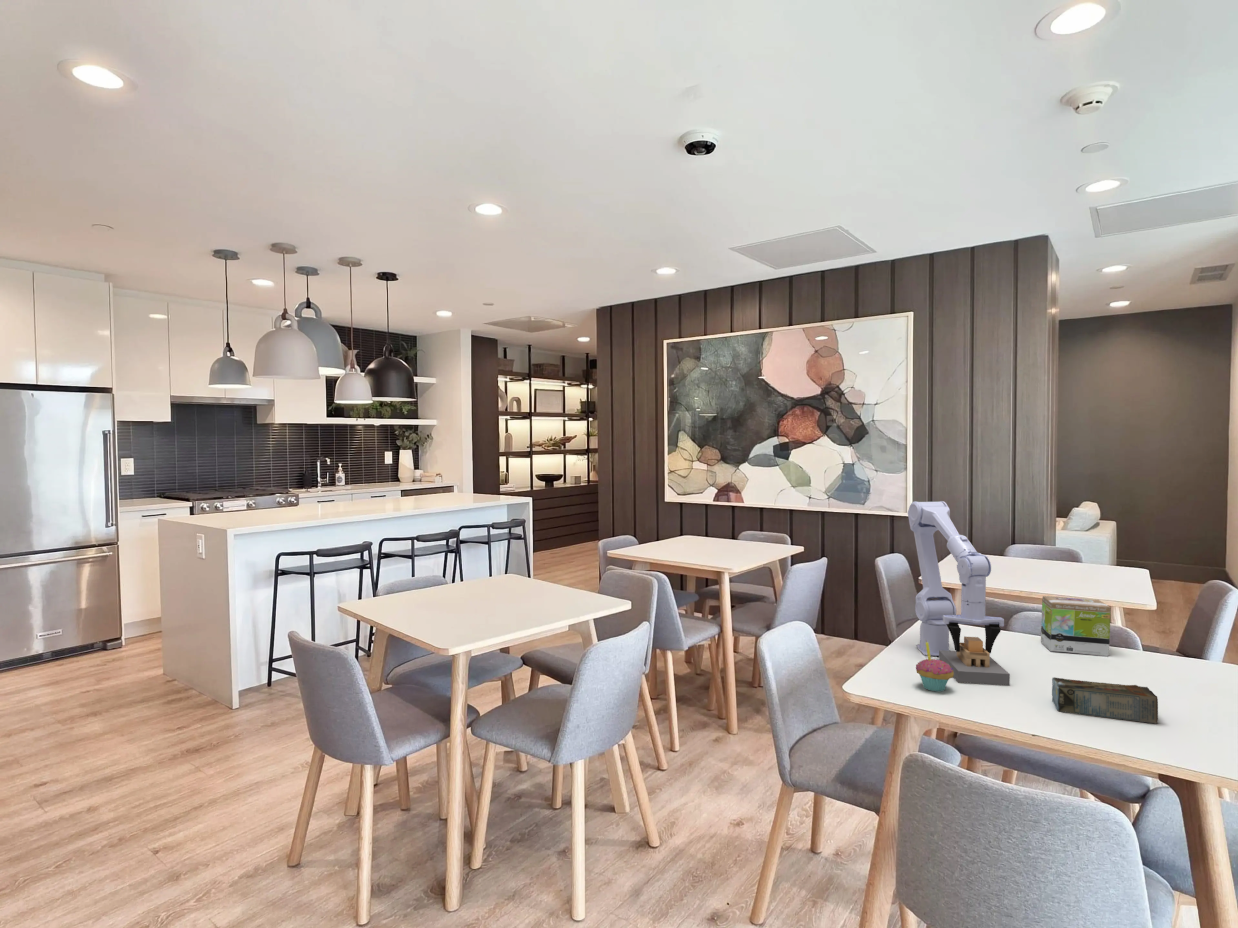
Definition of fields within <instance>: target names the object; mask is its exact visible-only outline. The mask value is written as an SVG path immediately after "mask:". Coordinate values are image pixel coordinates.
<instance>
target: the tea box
mask: <svg viewBox="0 0 1238 928" xmlns="http://www.w3.org/2000/svg"><path fill="white" fill-rule="evenodd" d="M1111 612H1112V607H1111V606H1109V604H1106V603H1104V602H1103V601H1101V600H1100V599H1093V598H1082V597H1081V598H1079V597H1068V596H1067V597H1064V596H1049V595H1042V601H1041V619H1040V620H1041V621H1040V622H1041V623H1040V625H1041V626H1040V643H1041V644H1042V645H1043V646H1044V647H1045V648H1046V649H1047V650H1048V651H1049V652H1058V653H1073V654H1081V655H1083V654H1084V655H1092V656H1100V657H1101V656H1102V657H1109V655H1110V641H1111V640H1110V639H1111V618H1112V617H1111V616H1112V615H1111V614H1112V613H1111Z"/></svg>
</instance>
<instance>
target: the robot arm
mask: <svg viewBox="0 0 1238 928" xmlns="http://www.w3.org/2000/svg"><path fill="white" fill-rule="evenodd" d="M907 517H908V523H909V528H910V531H912V532H913V536H914V540H915V547H916V555H917V560H918V565H919V571H920V576H921V583H922V589H921V590H920V591H919V592H918V593H917V594H916V595H915V607H914V610H915V615H916V617H917V618H918V619H919V621H920V627H919V644H918V643H917V644H916V645H915V646H916V648H918V649H919V651H920V652H921V653H922V654H923V656H928V655H927V649H926V640H927V642H928V644H929V650H930V656H934V657H939V650H944V651H950V637H951V638H952V639H951V640H952V642H953V646H954V651H957V652H960V643H961V632H962V628H961V627H960V625H973V626H974V625H975V626H977V625H978V626H980V625H981V626H984V633H985V641H984V643H985V645H984V646H985V647H984V649H985V650H986V651H988V652H989V653H990V654H992V649H993V646H994V643H995V642H996V640H997V637H998V636H999V635H1000V633H1001V630H1002V629H1001V627H1004V626H1005V619H1004V618H1003V617H998V616H988V615H986V603H987V602H986V597H987V594H986V593H987V589H986V588H987V586H986V585H987V582H986V581H987V578H988V577H989V576H990V575H991V573H992V572H991V571H992V564H991V561H990V558H989V557H988V556H987V555H985V554H982V553H980V552H978V551H977V550H976V548H975V547H974V545H972V542H970V540H969V539H968V537H967V536H965V535H964V534H960V533H959V532H958V530H957V528H956V526H955V524H954V523H953V521H952V520H951V510H950V507H949V505H948V504H947V502H945V501H943V500H940V501H916V500H915V501H912V502H911V503H910V505H909V507H908V510H907ZM937 531H939V532H940V533H941V534H942V536H943V537H944V538H945V539H946V541H947V543H946V549H948V550H949V553H950V554H951V556H952V558H954V560H955V562H956V563H957V564H956V570H957V573H958V577H959V578H958V580H959V583H961V595H960V596H961V599H960V600H961V606H960V614H957V612H958V611H957V607H956V606H957V605H956V603H955V602H954V599H953V596H952V593H951V592H949V591H948V590H947V589H945V588H944V587H943V583H942V578H941V577H942V576H941V573H940V572H941V571H940V566H939V560H938V555H937V551H936V543H935V537H934V534H935V532H937ZM925 639H926V640H925Z"/></svg>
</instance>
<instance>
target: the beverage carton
mask: <svg viewBox="0 0 1238 928" xmlns="http://www.w3.org/2000/svg"><path fill="white" fill-rule="evenodd" d="M1051 680H1052V682H1051V685H1052V686H1051V697H1052V701H1051V702H1052V703H1053V705H1054V707H1055V708H1056V710H1057V711H1058V712H1059V713H1065V714H1074V715H1082V716H1088V717H1097V718H1107V719H1116V720H1122V719H1123V720H1124V721H1134V722H1140V723H1147V724H1155V725H1157V724H1158V723H1159V722H1158V721H1159V701H1158V700H1159V699H1158V696H1157V695H1156V694H1155V693H1154V692H1153V691H1152V690H1151V689H1150V688H1148V686H1140V685H1137V684H1120V683H1119V684H1118V683H1110V682H1109V683H1107V682H1097V681H1088V680H1078V679H1077V680H1076V679H1068V678H1059V677H1052V678H1051ZM1123 720H1122V721H1123Z"/></svg>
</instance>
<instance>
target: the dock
mask: <svg viewBox="0 0 1238 928" xmlns="http://www.w3.org/2000/svg"><path fill="white" fill-rule="evenodd" d="M938 660H942V661H944V662H946V663H947V664H949V666H951V668H953V669H952V670H953V672H954V676H953V679H954V680H955V681H956V682H957V683H958V684H970V685H971V684H973V685H990V686H991V685H993V686H1007V687H1008V686H1010V682H1011V681H1010V677H1011V674H1010V673H1009V672H1008V671H1007V670H1006V669H1005V668H1004V667H1002V665H1000V664H999V663H998V662H997V661H996V660H995V659H994V658H992V657H991V656H990V664H989V667H984V666H983V665H982V664H981V663H980V667H976V666H975V665H974V664H973V663H972V662H971V667H970V666H966V665H965V664H964V663H963V662H962V661H961V660H960V659H959V658H958V657H957V651H956V650H949V651H944V650H939V656H938Z"/></svg>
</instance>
